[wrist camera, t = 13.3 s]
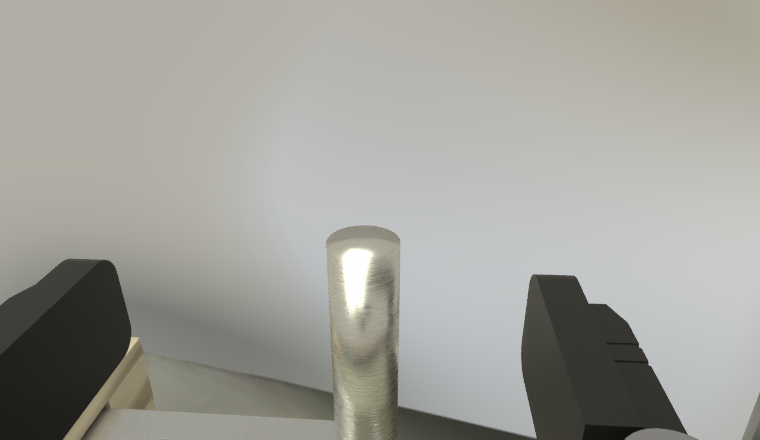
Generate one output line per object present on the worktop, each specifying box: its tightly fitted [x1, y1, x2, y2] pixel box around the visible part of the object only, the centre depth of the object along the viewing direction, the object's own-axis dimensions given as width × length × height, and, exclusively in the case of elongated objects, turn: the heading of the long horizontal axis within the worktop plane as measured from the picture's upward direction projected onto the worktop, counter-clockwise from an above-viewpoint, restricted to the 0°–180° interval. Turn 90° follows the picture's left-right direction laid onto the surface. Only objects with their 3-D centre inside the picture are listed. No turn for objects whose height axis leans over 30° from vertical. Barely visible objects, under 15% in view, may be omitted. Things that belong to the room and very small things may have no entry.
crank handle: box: [80, 226, 400, 440], centre depth 27 cm, size 22×3×15 cm, turn 86°
